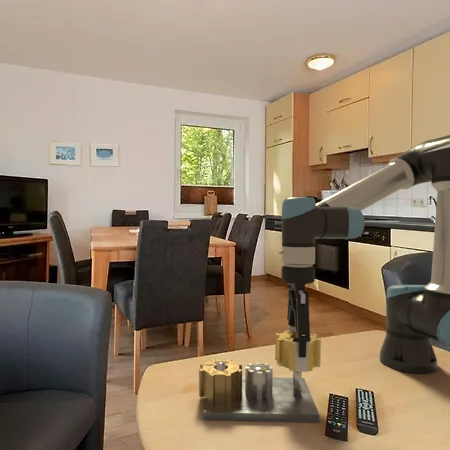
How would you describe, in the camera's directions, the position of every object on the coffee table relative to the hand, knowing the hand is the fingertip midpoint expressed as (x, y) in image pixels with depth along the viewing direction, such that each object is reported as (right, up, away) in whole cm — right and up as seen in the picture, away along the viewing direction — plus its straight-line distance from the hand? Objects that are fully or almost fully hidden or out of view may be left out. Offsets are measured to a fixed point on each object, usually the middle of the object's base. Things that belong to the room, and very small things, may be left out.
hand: (297, 361), depth 86 cm
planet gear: (0, 0, 0) cm, 0 cm away
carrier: (-9, -9, 0) cm, 13 cm away
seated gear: (-18, -7, +1) cm, 19 cm away
